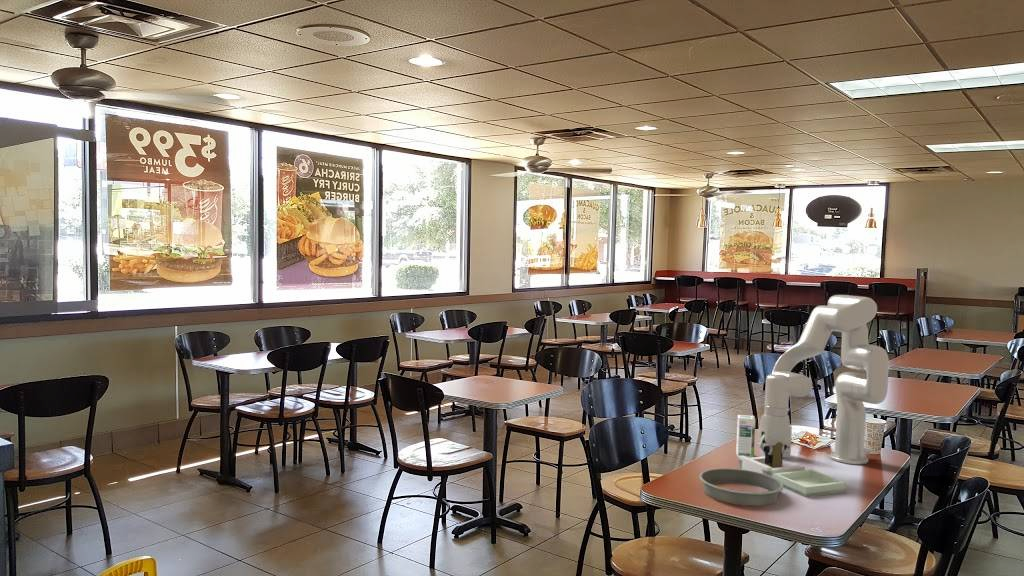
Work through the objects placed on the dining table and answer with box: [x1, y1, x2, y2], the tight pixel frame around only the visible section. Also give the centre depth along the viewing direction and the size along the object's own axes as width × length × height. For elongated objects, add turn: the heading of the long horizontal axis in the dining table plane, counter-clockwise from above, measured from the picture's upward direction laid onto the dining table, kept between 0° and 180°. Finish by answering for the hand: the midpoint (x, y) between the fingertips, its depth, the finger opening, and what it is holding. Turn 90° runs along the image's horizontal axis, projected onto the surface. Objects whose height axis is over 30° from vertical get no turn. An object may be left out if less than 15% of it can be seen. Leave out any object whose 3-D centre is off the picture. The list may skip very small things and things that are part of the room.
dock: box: [737, 455, 806, 477], centre depth 247 cm, size 16×14×4 cm
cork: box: [765, 442, 783, 468], centre depth 247 cm, size 6×6×11 cm
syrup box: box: [735, 414, 756, 458], centre depth 265 cm, size 6×6×14 cm
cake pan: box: [699, 467, 785, 506], centre depth 223 cm, size 25×25×4 cm
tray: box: [773, 468, 847, 498], centre depth 231 cm, size 16×14×3 cm
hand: (773, 464), depth 247 cm, fingers closed on cork, 3 cm apart
